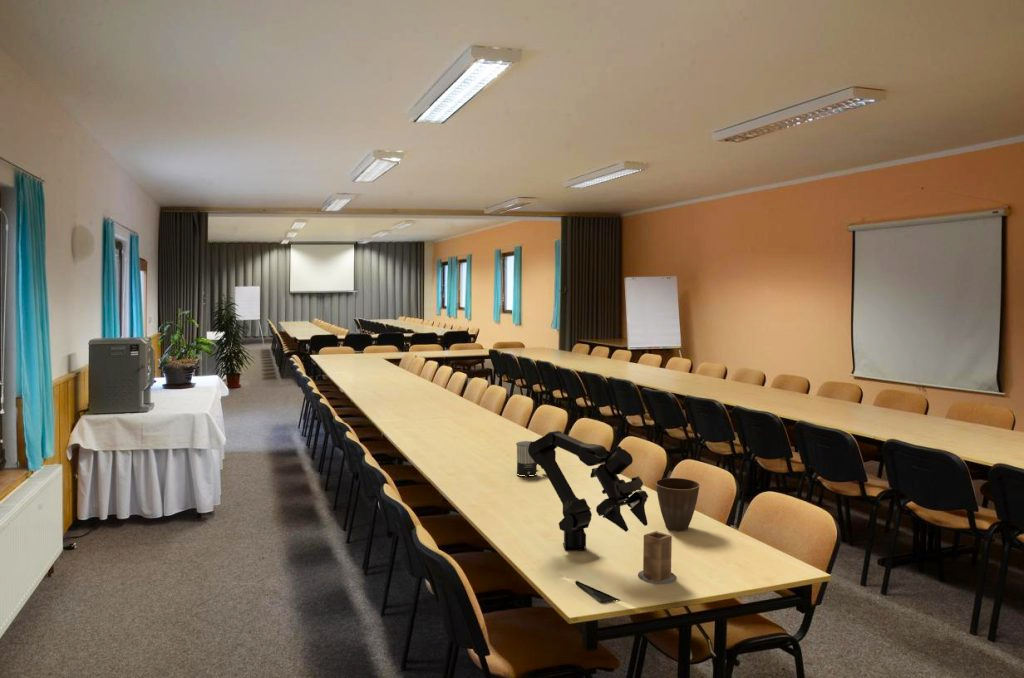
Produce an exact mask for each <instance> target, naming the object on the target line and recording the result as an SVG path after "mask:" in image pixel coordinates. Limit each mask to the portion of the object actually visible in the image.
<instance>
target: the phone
mask: <svg viewBox="0 0 1024 678" xmlns="http://www.w3.org/2000/svg"><path fill="white" fill-rule="evenodd" d="M575 585H576V586H577V587H578V588H580V589H582V591H584V592H585V593H586V594H587V595H588V596H591V598H593V599H595V600H596V601H597V602H598V603H600V604H607V602H609V603H612V602H611V601H614V602H617V601H616V600H619V601H621V599H619V598H618V597H615V596H612V595H611V594H608V593H606V592H603V591H601V590H599V589H597V588H595V587H593V586H590V585H587V584H585V583H583V582H580V581H578V580H575Z"/></svg>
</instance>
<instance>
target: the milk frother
mask: <svg viewBox="0 0 1024 678" xmlns="http://www.w3.org/2000/svg"><path fill="white" fill-rule="evenodd" d="M531 442H533V440H531V441H530V440H523V441H518V442H516V443H515V445H516V474H519V475H525V476H529V475H535V474H537V471H538V470H537V466H538V464H537V463H535V462H534V461H533V459H532V458H531V456H530V455H529V453H528V447H529V444H530V443H531ZM540 468H541V469H542V470H544V469H543V468H542V467H541V466H540Z"/></svg>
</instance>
